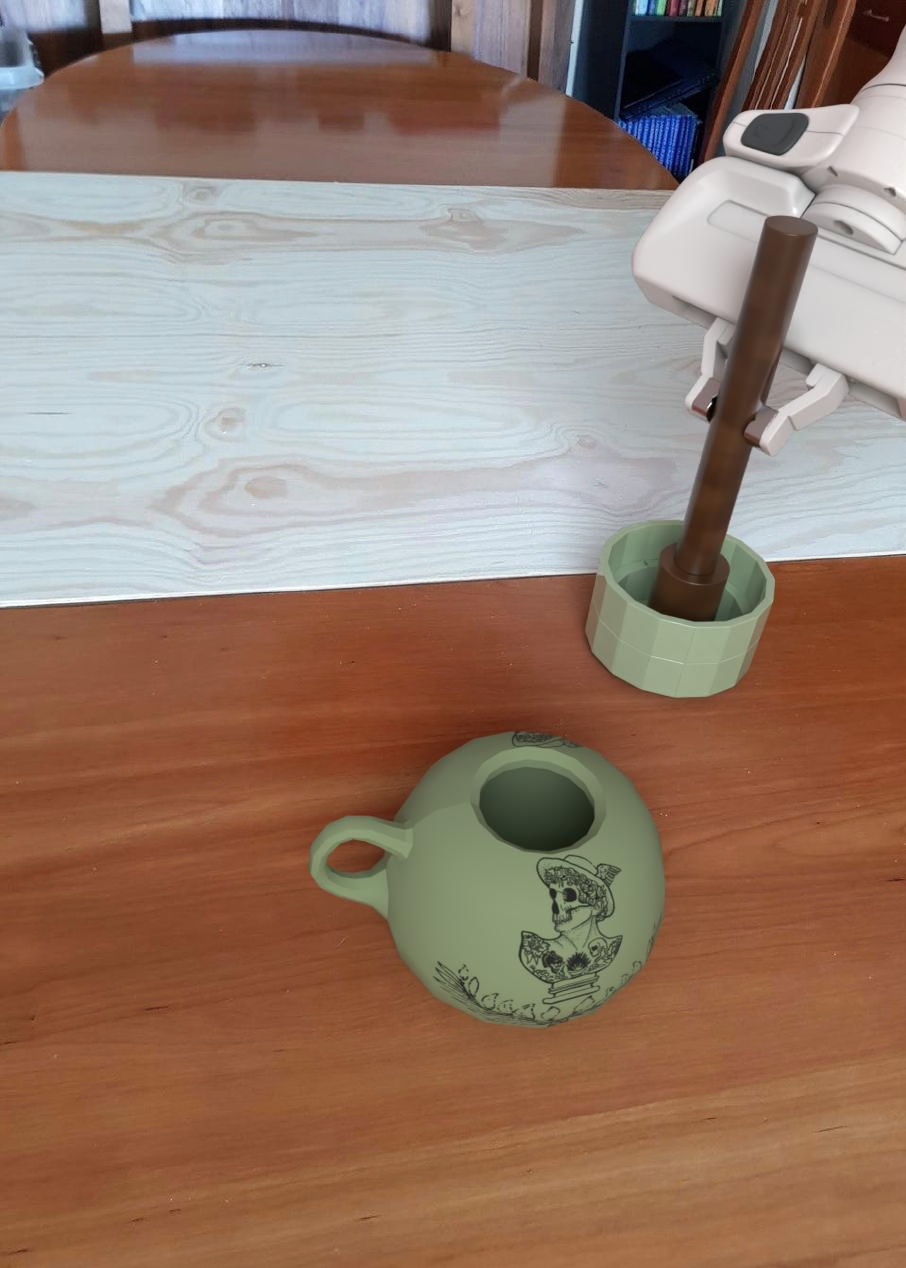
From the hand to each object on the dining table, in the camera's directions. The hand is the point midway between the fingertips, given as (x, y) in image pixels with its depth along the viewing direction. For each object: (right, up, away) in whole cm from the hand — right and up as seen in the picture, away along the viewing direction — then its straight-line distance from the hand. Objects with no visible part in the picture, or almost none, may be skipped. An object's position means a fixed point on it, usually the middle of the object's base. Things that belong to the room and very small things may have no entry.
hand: (726, 430), depth 54 cm
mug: (-12, -24, -4) cm, 27 cm away
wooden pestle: (-1, -10, +9) cm, 14 cm away
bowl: (-1, -11, +11) cm, 16 cm away
